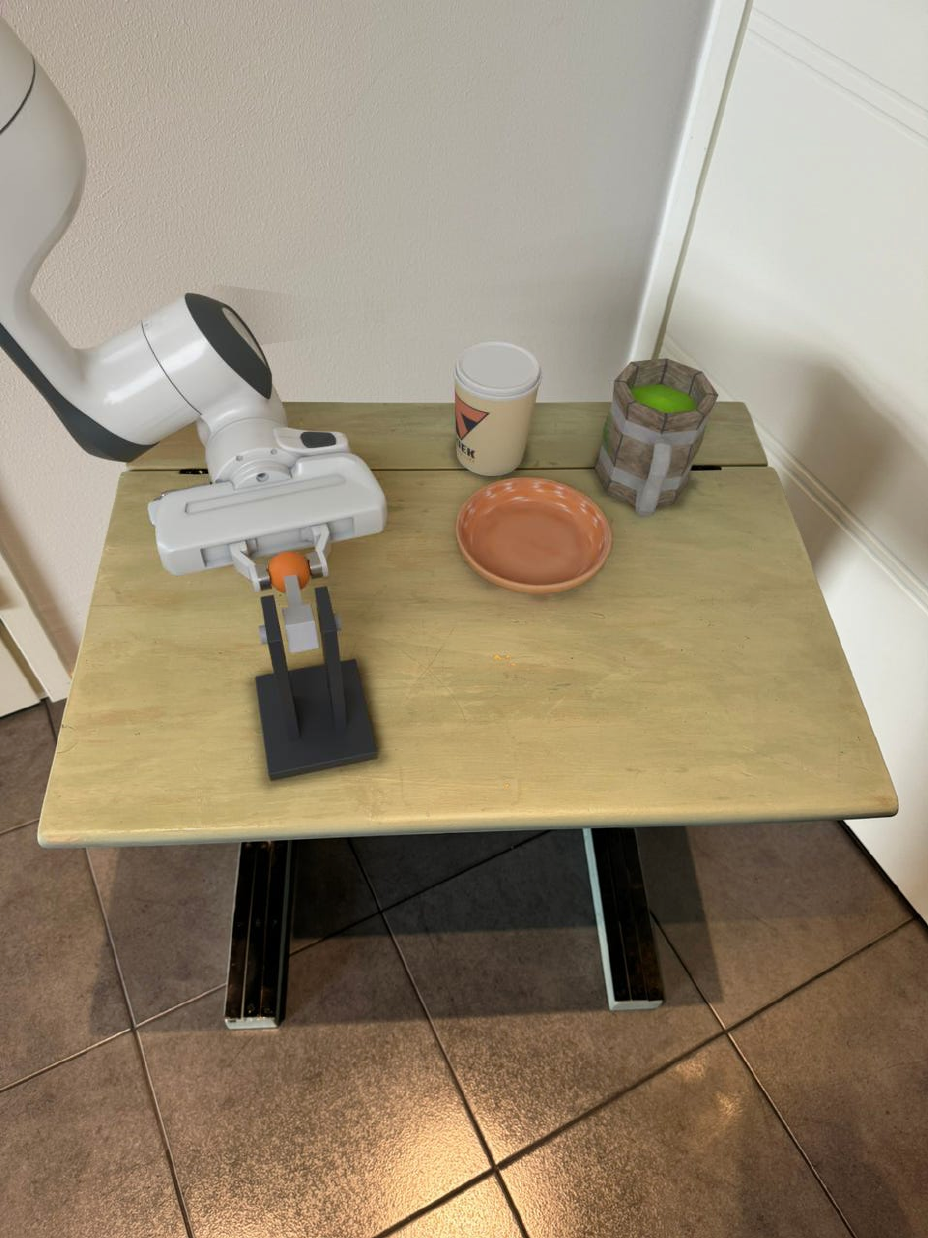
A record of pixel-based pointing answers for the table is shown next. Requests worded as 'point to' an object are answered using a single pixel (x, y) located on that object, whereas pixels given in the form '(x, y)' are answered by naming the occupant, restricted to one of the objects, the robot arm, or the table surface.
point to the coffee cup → (494, 405)
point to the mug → (653, 432)
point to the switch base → (311, 702)
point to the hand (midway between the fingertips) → (292, 579)
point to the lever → (294, 599)
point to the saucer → (533, 535)
